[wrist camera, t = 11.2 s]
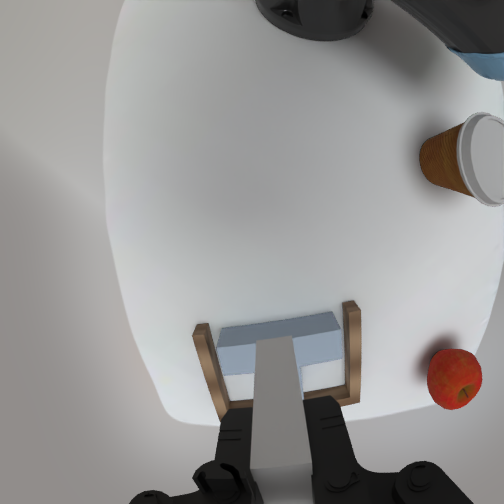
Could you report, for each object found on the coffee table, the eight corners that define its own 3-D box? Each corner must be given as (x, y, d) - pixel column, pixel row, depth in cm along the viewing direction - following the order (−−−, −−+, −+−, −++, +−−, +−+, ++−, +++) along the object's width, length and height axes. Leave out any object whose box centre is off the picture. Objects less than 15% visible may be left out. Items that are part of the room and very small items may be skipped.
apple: (424, 333, 36) (461, 373, 26) (463, 331, 36) (501, 366, 26) (406, 380, 38) (434, 424, 28) (445, 376, 38) (475, 414, 28)
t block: (221, 327, 37) (216, 347, 32) (331, 311, 36) (341, 329, 31) (236, 388, 39) (234, 411, 34) (335, 373, 38) (342, 395, 33)
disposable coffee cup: (410, 116, 30) (466, 96, 18) (466, 137, 30) (525, 129, 18) (404, 190, 32) (462, 196, 20) (460, 204, 32) (520, 216, 20)
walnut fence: (197, 324, 37) (192, 335, 34) (353, 300, 35) (360, 310, 32) (222, 408, 40) (220, 422, 37) (354, 389, 39) (359, 402, 36)
